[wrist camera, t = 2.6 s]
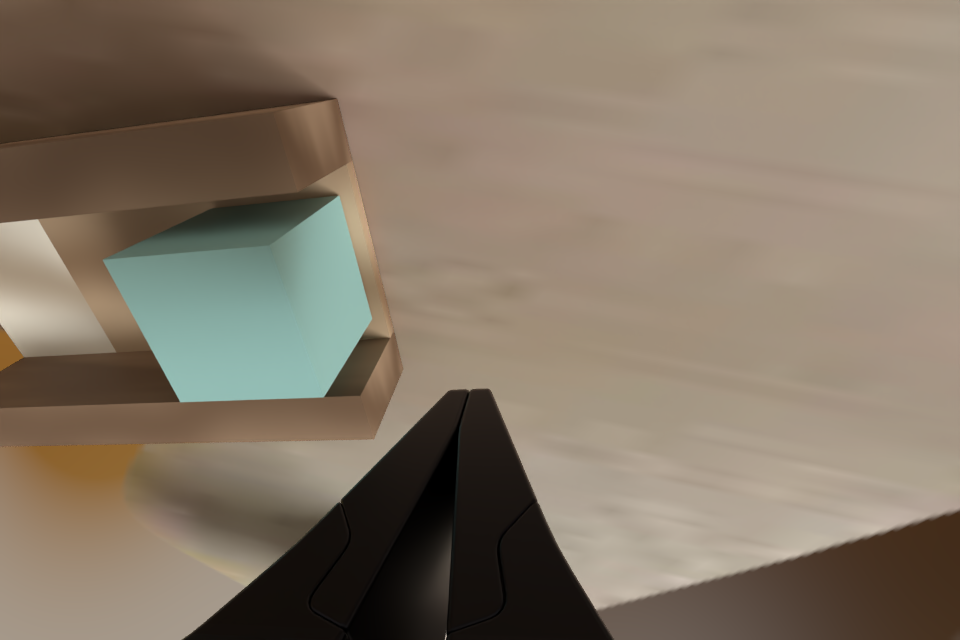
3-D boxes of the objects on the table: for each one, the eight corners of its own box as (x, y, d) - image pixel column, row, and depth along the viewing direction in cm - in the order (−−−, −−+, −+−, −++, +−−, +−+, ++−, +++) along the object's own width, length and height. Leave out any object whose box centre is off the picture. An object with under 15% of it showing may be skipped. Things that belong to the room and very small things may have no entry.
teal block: (372, 319, 19) (323, 397, 14) (258, 325, 20) (180, 402, 15) (339, 195, 16) (269, 245, 12) (211, 208, 17) (102, 259, 13)
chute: (403, 369, 21) (373, 439, 17) (58, 383, 23) (-34, 447, 20) (337, 98, 15) (273, 112, 12) (-98, 157, 18) (-266, 183, 14)
